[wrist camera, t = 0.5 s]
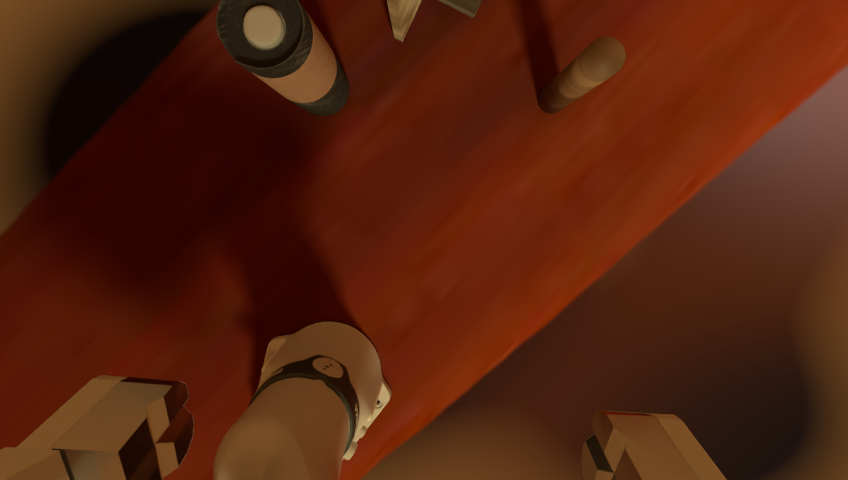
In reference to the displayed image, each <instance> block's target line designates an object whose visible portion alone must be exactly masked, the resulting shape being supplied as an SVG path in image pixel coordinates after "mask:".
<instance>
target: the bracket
mask: <svg viewBox="0 0 848 480" xmlns="http://www.w3.org/2000/svg"><path fill="white" fill-rule="evenodd" d="M439 1H441V2H443V3H445V4H447V5H449V6H451V7H453V8H455V9H457V10H459V11H461V12H462V13H464V14H466V15H468V16H470V17H472V18H474V16H475V14H476V12H477V10H478V8H479V6H480V3H481V1H482V0H439ZM420 3H421V0H387V4H388V9H389V14H390V19H391V24H392V28H393V33H394V38H396V39H398V40H400V41H402V42H403V40H404V38H405V35H406V33H407V31H408V29H409V27H410V25H411V22H412V20H413V18H414V16H415V14H416V11H417V9H418V7H419V5H420Z"/></svg>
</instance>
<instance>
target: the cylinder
mask: <svg viewBox="0 0 848 480" xmlns="http://www.w3.org/2000/svg"><path fill="white" fill-rule="evenodd" d="M624 61H625V50H624V47H623V45H622V44H621V43H620V42H619V41H618V40H617V39H615V38H613V37H609V36H605V37H600V38H598V39H596V40H595V41H594V42H593V43H591V44H590V45H589V46H588V47H587V48H586V49H585V50H584V51H583V52H582V53H581V54H580V55H579V56H578V57H576V58H575V59H574V60H573V61H572V62H571V63H570V64H569V65H568V66H567V67H566V68H565V69H564V70H562V71H561V72H560V73H559V74H558V75H557V76H556V77H555V78H554V79H553V80H552V81H551V82H550V83H549V84H547V85H546V86H545V87H544V88H543V89H542V90H541V92H540V93H539V96H538V104H539V106H540V108H541V109H542V110H543V111H545V112H547V113H555V112H558V111H559V110H561V109H562V108H564V107H565V106H567V105H568V104H570V103H571V102H573V101H574V100H576V99H577V98H579V97H581V96H582V95H584V94H585V93H587V92H588V91H590V90H591V89H593V88H594V87H596V86H597V85H599V84H600V83H602V82H603V81H605V80H607V79H608V78H610V77H611V76H613V75H614V74H616V73H617V72H618V71H619V70H620V69H621V68H622V66H623V64H624Z"/></svg>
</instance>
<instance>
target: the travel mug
mask: <svg viewBox="0 0 848 480" xmlns="http://www.w3.org/2000/svg"><path fill="white" fill-rule="evenodd" d="M216 27H217V34H218V37H219V39H220V40H221V42H222V43H223V45H224V46H225V48H226V49H227V51H228V52H229V54H230V55H231V56H232V58H233V59H234V60H235V62H237V63H238V64H240V65H242V66H243V67H245V68H246V69H247V70H249V71H250V72H251V73H253V74H254V75H255V76H257V77H258V78H259V79H261V80H262V81H263V82H265V83H266V84H267V85H269V86H270V87H272V88H273V89H274V90H276V91H277V92H278V93H280V94H281V95H282V96H284V97H285V98H287V99H288V100H290V101H292V102H293V103H295V104H297V105H298V106H300V107H302V108H303V109H305V110H307V111H308V112H310V113H312V114H315V115H319V116H328V115H332V114H334V113H336V112H338V111H339V110H340V109H341V108H342V107H343V106H344V104H345V103H346V101H347V98H348V95H349V83H348V80H347V77H346V75H345V73H344V71H343V69H342V67H341V65H340V64H339V62H338V60H337V58H336V56H335V54H334V53H333V51H332V49H331V47H330V46H329V44H328V43H327V41H326V40H325V39H324V37H323V36H322V34H321V33H320V31H319V30H318V28H317V27H316V25H315V24H314V22H313V21H312V19H311V18H310V16H309V15H308V13H307V12H306V10H305V9H304V7H303V6H302V4H301V3H300V1H299V0H221V1H220V4H219V7H218V10H217V17H216Z"/></svg>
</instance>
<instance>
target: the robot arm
mask: <svg viewBox="0 0 848 480" xmlns="http://www.w3.org/2000/svg"><path fill="white" fill-rule="evenodd" d="M273 352H274V353H273ZM261 372H262V373H261V378H260V382H259V387H258V389H257V391H256V392H255V394H254V396H253V398H252V399H251V401H250V403H249V406H248V408H247V409H246V411H245V412H244V413H243V414H242V415H241V416H240V418H239V419H238V420H237V421H236V422H235V424H234V425H233V426H232V427H231V428H230V429H229V431H228V432H227V433H226V435H225V436H224V438H223V439H222V441H221V443H220V445H219V448H218V450H217V453H216V457H215V461H214V467H213V478H214V480H339V474H340V468H341V464H342V460H343V459H346V460H350V458H351V457H352V456H353V454H354V452H355V450H356V448H357V443H356V442H357V441H358V440H359V438H362V437H363V435H364V434H365V432H366V430H367V428H368V427H369V426H370V424H371V423H372V422H373V421H374V419H375V418H376V417H377V415H378V414H379V413H380V412H381V410H382V409H383V408H384V406H385V405H386V404H387V403H388V401H389V399H390V397H391V390H390V388H389V386H388V384H387V383H386V381H385V380H384V378H383V376H382V373H381V366H380V361H379V357H378V354H377V352H376V350H375V348H374V346H373V345H372V343H371V342H370V341H369V340H368V338H367V337H366V336H365V335H363V334H362V333H361V332H360V331H358V330H357V329H355V328H353V327H351V326H349V325H346V324H343V323H339V322H319V323H315V324H312V325H309V326H307V327H305V328H303V329H301V330H299V331H298V332H296V333H294V334H291V335H284V336H278V337H275V338H273V339H272V340H271V341H270V342H269V344H268V347H267V351H266V355H265V360H264V364H263V368H262V370H261ZM188 398H189V394H188V390H187V386H186V384H184V383H182V382H177V381H166V380H156V379H145V378H135V377H118V376H108V375H101V376H99V377H96V378H94V379H92V380H90V381H89V382H88V383H87V384H86V385H85V386H84V387H83V388H82V389H81V390H79V391H78V392H77V393H76V394H75V395H74V396H73V397H72V398H71V399H69V400H68V401H67V402H66V403H65V404H64V405H63V406H62V407H61V408H60V409H58V410H57V411H56V412H55V413H54V414H53V415H52V416H51V417H50V418H48V419H47V420H46V421H45V422H44V423H43V424H42V425H41V426H40V427H39V428H37V429H36V430H35V431H34V432H33V433H32V434H31V435H30V436H29V437H27V438H26V439H25V440H24V441H23V442H22V443H21V444H20V445H19V446H17V447H6V448H4V449H2V450H0V480H163V477H165V476H166V475H168V474H169V473H171V472H172V471H173V470H175V469H176V468H178V467H179V465H180V464H181V462H182V460H183V459H184V457H185V455H186V454H187V452H188V449H189V446H190V443H191V440H192V437H193V429H194V422H193V416H192V414H191V413H190V412H189V411H188V410H187V409H186V408H185V407H184V406H183V405H184V404H185V402H186V401H187V400H188ZM378 400H379V401H380V402H379V403H377V401H378ZM591 426H592V428H593V431H594V433H595V434H594V435H592V436H591V437H590V438H589V439H587V440H586V441H585V443H584V447H583V451H582V470H583V475H584V479H585V480H726V478H725V477H724V476H723V474H722V473H721V472H720V470H719V469H718V468H717V467H716V465H715V464H714V463H713V461H712V460H711V459H710V457H709V456H708V455H707V453H706V452H705V451H704V449H703V448H702V447H701V445H700V444H699V443H698V441H697V440H696V439H695V437H694V436H693V435H692V433H691V432H690V431H689V429H688V428H687V427H686V425H685V424H684V423H683V421H682V420H681V419H679V418H678V417H676V416H675V415H668V414H667V415H666V414H645V413H632V412H615V411H598V412H597V413H596V414H595V415H594V417H593V420H592V422H591Z"/></svg>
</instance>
